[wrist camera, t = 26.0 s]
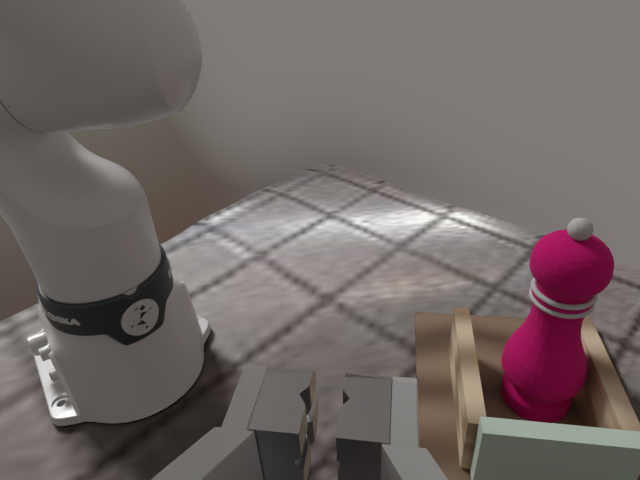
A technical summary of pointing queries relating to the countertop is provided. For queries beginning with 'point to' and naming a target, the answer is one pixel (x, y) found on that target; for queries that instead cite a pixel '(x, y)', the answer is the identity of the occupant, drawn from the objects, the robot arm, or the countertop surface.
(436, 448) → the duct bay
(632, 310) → the countertop surface
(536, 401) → the pepper mill
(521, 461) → the gate
